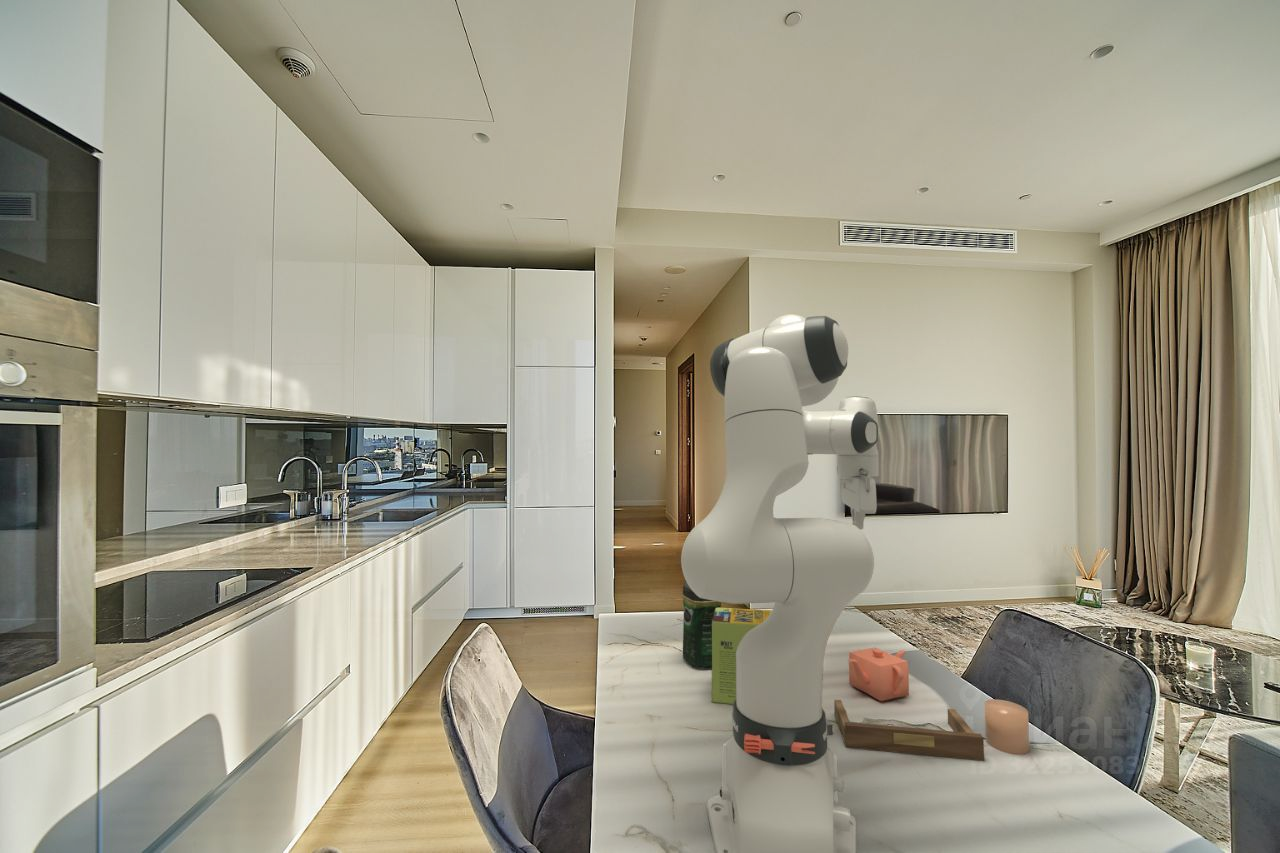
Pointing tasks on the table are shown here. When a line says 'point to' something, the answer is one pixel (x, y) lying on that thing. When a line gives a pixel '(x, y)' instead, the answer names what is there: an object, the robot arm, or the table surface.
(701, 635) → the coffee jar
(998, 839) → the table surface
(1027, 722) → the peach rounded cylinder
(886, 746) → the display bay
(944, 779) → the table surface
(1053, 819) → the table surface
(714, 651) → the protein box
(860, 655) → the teapot
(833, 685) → the table surface
